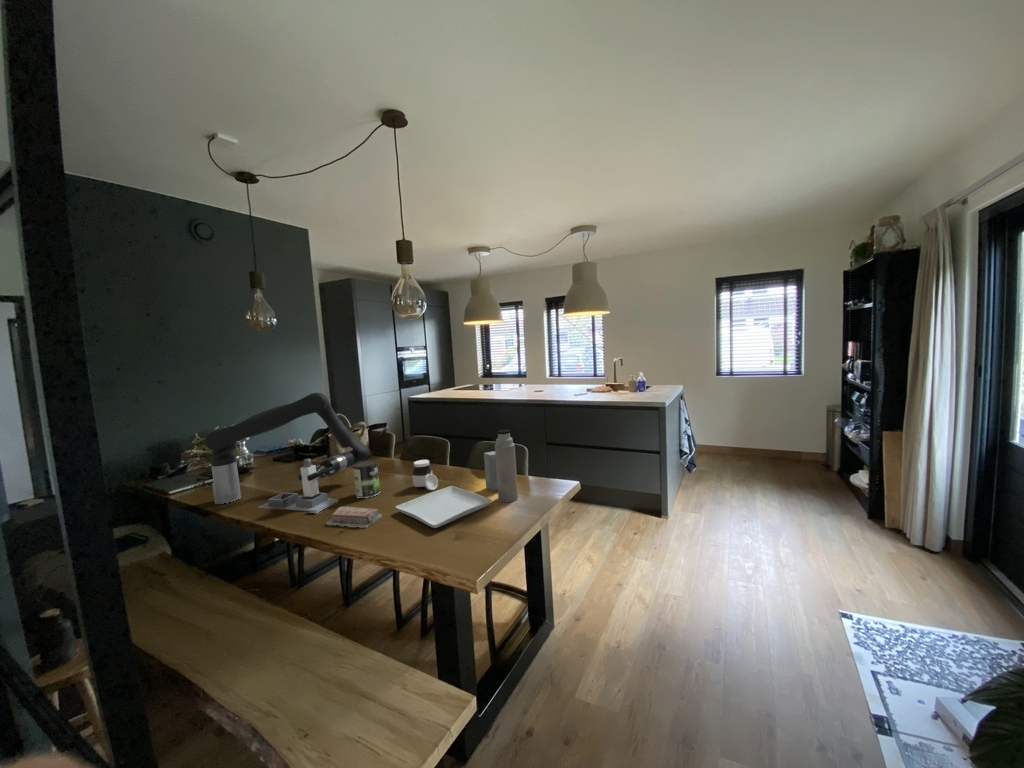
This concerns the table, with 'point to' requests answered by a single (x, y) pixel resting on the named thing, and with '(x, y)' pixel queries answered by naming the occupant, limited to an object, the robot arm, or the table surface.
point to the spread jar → (424, 476)
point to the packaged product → (354, 517)
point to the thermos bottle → (506, 467)
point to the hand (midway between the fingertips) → (303, 478)
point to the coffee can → (366, 479)
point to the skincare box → (490, 471)
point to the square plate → (443, 506)
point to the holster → (281, 501)
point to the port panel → (312, 503)
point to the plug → (308, 486)
